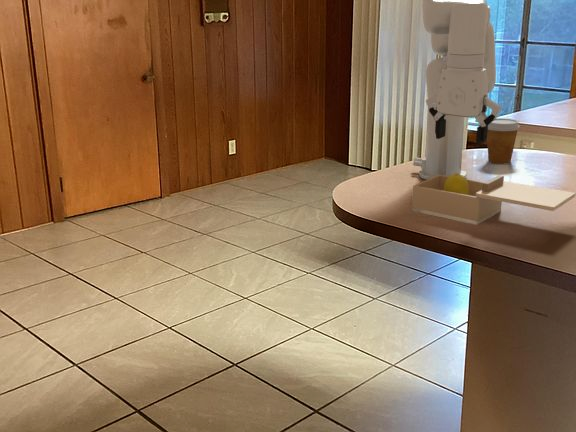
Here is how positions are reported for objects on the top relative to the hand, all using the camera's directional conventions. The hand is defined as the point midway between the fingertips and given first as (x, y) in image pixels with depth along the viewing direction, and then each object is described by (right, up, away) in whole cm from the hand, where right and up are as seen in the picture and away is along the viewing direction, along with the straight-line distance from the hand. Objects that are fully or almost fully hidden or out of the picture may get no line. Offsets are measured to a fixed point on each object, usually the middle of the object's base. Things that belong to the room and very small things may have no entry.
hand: (460, 140), depth 146 cm
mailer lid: (+12, -13, -7) cm, 19 cm away
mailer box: (0, -16, +4) cm, 16 cm away
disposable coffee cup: (+24, -1, +48) cm, 53 cm away
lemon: (0, -15, +5) cm, 16 cm away
